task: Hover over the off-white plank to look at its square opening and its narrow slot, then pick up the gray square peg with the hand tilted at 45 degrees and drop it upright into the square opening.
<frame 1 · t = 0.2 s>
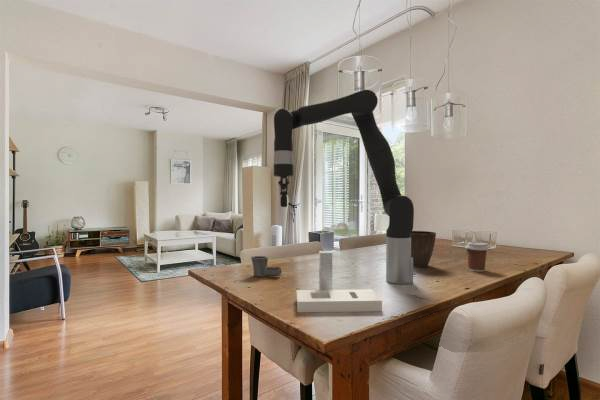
hand: (283, 206, 118), 29 cm above the table, tool pointing down, fingers open, 8 cm apart
socket plank: (337, 305, 94), on the table
pipe: (265, 276, 129), on the table
gray square peg: (325, 293, 106), on the table
plant pot: (419, 266, 150), on the table
coffee cup: (476, 270, 140), on the table
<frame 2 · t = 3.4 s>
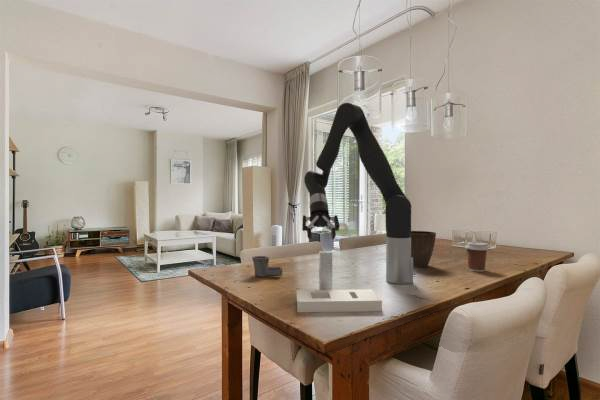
hand: (321, 238, 117), 17 cm above the table, tool tilted 45°, fingers open, 8 cm apart
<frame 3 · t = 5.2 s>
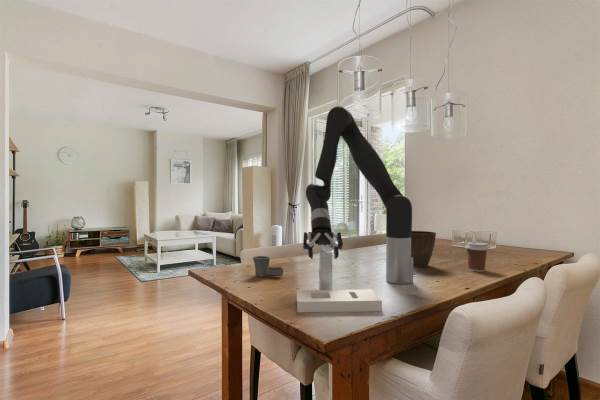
hand: (323, 257, 110), 11 cm above the table, tool tilted 45°, fingers open, 8 cm apart
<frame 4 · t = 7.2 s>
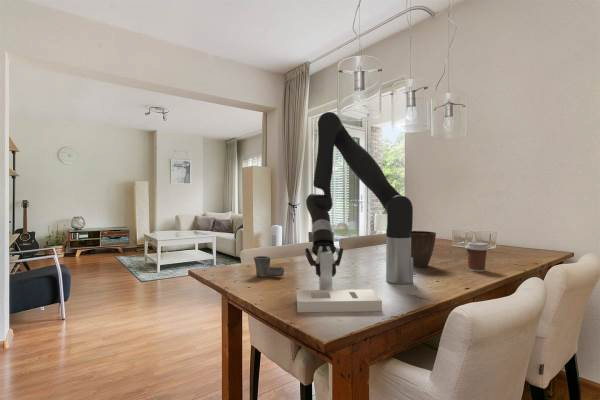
hand: (326, 275, 104), 7 cm above the table, tool tilted 45°, fingers closed on gray square peg, 4 cm apart
gray square peg: (325, 293, 106), on the table, touching gripper
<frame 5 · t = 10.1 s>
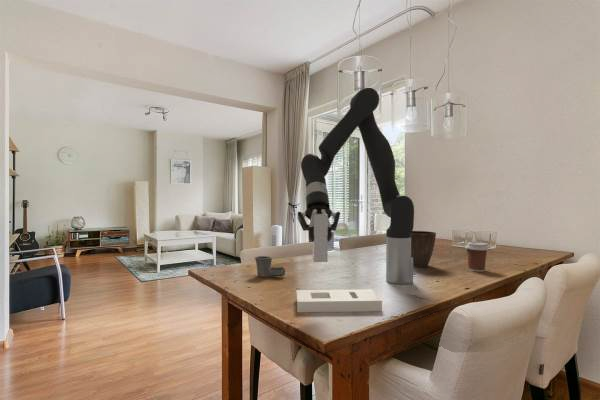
hand: (320, 239, 92), 20 cm above the table, tool tilted 45°, fingers closed on gray square peg, 4 cm apart
gray square peg: (320, 260, 94), point 13 cm above the table, touching gripper
when the fingers open (8 cm above the table, at t = 13.1 s): gray square peg drops 2 cm, resting in socket plank.
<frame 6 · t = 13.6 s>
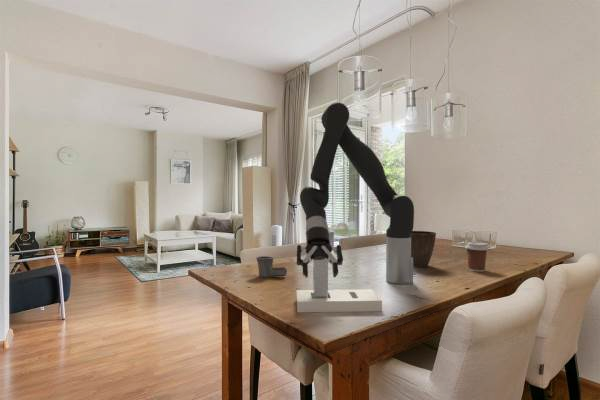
hand: (320, 276, 92), 9 cm above the table, tool tilted 45°, fingers open, 8 cm apart
gray square peg: (320, 305, 94), resting in socket plank
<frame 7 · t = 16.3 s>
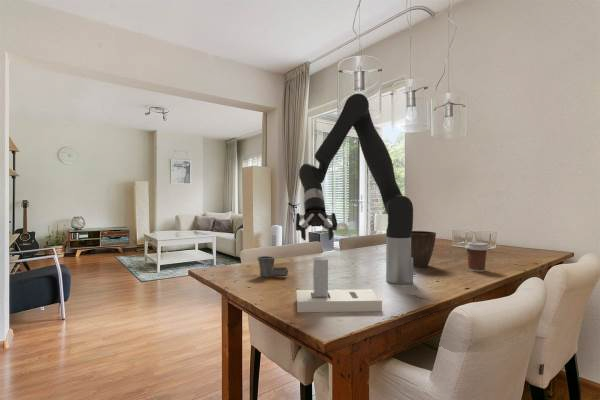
hand: (317, 238, 104), 19 cm above the table, tool tilted 45°, fingers open, 8 cm apart
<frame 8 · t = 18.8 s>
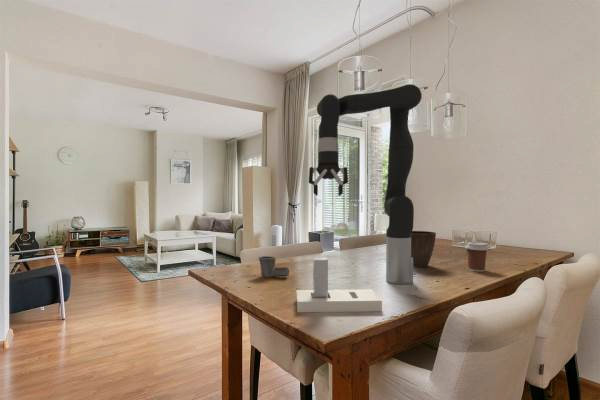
hand: (328, 195, 115), 33 cm above the table, tool pointing down, fingers open, 8 cm apart
at the end: gray square peg 0.1 cm from the target spot on the socket plank, point 0.0 cm above the socket plank's base; gray square peg tilted 0°; the gripper is holding nothing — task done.
